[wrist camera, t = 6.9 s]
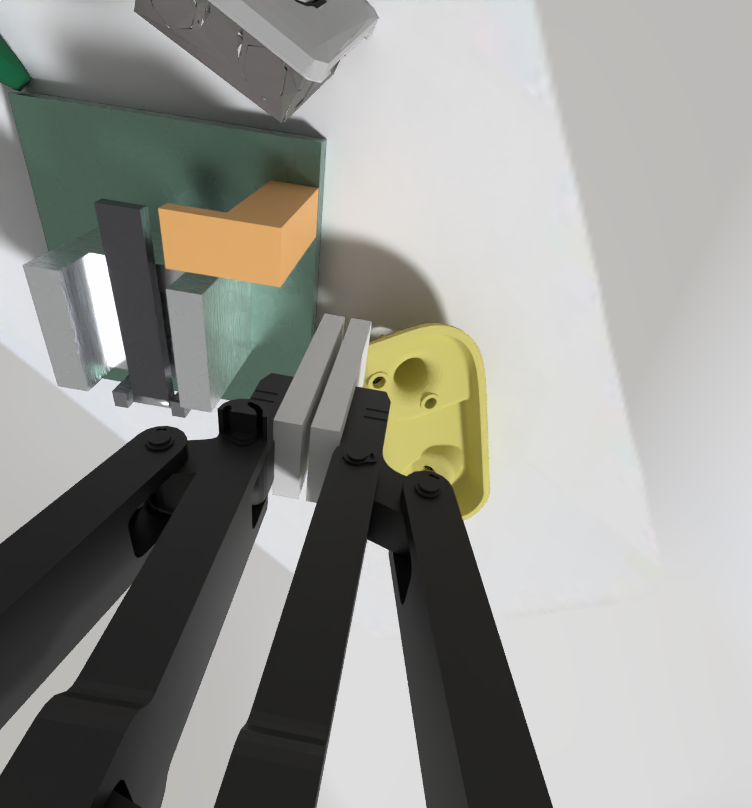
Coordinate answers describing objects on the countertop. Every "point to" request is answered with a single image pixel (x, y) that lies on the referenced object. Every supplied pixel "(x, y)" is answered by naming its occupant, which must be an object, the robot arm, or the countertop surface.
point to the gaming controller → (12, 69)
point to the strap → (136, 298)
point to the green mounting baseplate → (179, 291)
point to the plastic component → (435, 407)
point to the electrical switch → (266, 42)
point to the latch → (243, 235)
